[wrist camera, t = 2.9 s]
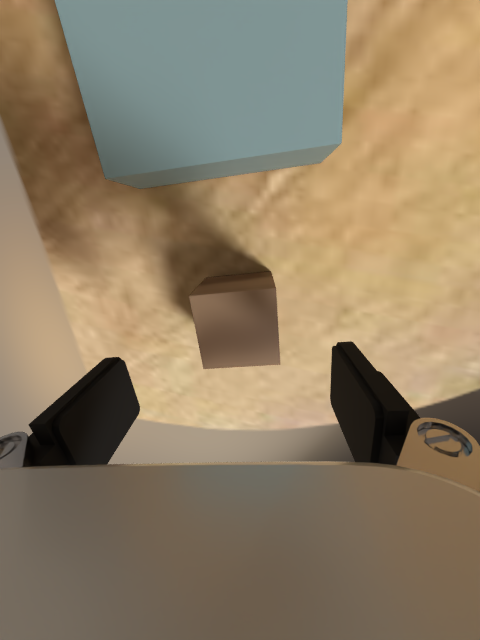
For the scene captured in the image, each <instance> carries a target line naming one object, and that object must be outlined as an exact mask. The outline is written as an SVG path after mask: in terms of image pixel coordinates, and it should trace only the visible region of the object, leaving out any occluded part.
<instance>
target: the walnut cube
mask: <svg viewBox="0 0 480 640" xmlns="http://www.w3.org/2000/svg"><path fill="white" fill-rule="evenodd" d="M189 299H190V304H191V309H192V314H193V319H194V324H195V329H196V334H197V339H198V343H199V348H200V353H201V358H202V363H203V368H204V369H212V368H229V367H246V366H263V365H280V351H279V334H278V316H277V299H276V287H275V283H274V280H273V276H272V273H271V271H268V272H258V273H248V274H238V275H228V276H218V277H208V278H205V279H204V281H203V282H202V283H201V284H200V285H199V286H198V287H197V288H196V289H195V290H194V291H193V292H192V293H191V294H190V296H189Z"/></svg>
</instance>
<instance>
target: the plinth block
mask: <svg viewBox="0 0 480 640" xmlns="http://www.w3.org/2000/svg"><path fill="white" fill-rule="evenodd" d="M55 3H56V7H57V10H58V14H59V17H60V21H61V25H62V28H63V32H64V35H65V39H66V42H67V46H68V49H69V53H70V56H71V60H72V63H73V67H74V70H75V74H76V77H77V81H78V84H79V88H80V92H81V95H82V99H83V102H84V106H85V109H86V113H87V116H88V120H89V123H90V127H91V130H92V134H93V137H94V141H95V144H96V148H97V152H98V155H99V159H100V162H101V166H102V169H103V173H104V176H105V179H108V180H111V181H114V182H118V183H121V184H125V185H128V186H132V187H135V188H139V189H143V188H150V187H157V186H164V185H171V184H178V183H185V182H192V181H199V180H206V179H213V178H220V177H227V176H234V175H241V174H248V173H255V172H262V171H269V170H276V169H283V168H290V167H296V166H303V165H310V164H317V163H321V162H322V161H323V160H324V159H325V158H326V157H327V156H329V155H330V154H331V153H332V152H333V151H334V150H335V149H336V148H337V147H338V146H339V145H340V144H341V143H342V119H343V95H344V70H345V46H346V22H347V0H55Z"/></svg>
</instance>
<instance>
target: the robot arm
mask: <svg viewBox="0 0 480 640" xmlns="http://www.w3.org/2000/svg"><path fill="white" fill-rule="evenodd" d="M330 399H331V405H332V408H333V410H334V412H335V415H336V417H337V420H338V422H339V424H340V427H341V429H342V432H343V434H344V436H345V439H346V441H347V444H348V446H349V448H350V451H351V453H352V455H353V458H354V460H355V462H328V461H327V462H223V463H222V462H218V463H217V462H216V463H215V462H214V463H163V464H162V463H158V464H113V465H112V464H109V465H107V464H108V462H109V460H110V459H111V457H112V455H113V454H114V452H115V451H116V449H117V448H118V446H119V444H120V443H121V441H122V440H123V438H124V436H125V435H126V433H127V432H128V430H129V429H130V427H131V425H132V424H133V422H134V421H135V419H136V417H137V416H138V414H139V411H140V406H139V403H138V400H137V397H136V394H135V391H134V388H133V385H132V382H131V379H130V376H129V373H128V370H127V367H126V364H125V361H124V360H121V358H119V357H112V358H105V359H103V360H102V361H101V362H100V363H99V364H98V365H96V366H95V367H94V368H93V369H92V370H91V371H90V372H88V373H87V374H86V375H85V376H84V377H83V378H82V379H80V380H79V381H78V382H77V383H76V384H75V385H73V386H72V387H71V388H70V389H69V390H68V391H67V392H65V393H64V394H63V395H62V396H61V397H60V398H59V399H57V400H56V401H55V402H54V403H53V404H52V405H51V406H49V407H48V408H47V409H46V410H45V411H44V412H42V413H41V414H40V415H39V416H38V417H37V418H36V419H34V420H33V421H32V422H31V423H30V424H29V426H30V428H31V430H32V432H33V433H32V434H31V435H30V436H29V437H28V435H27V434H26V433H25V432H15V433H11V434H8V435H5V436H2V437H0V640H480V446H479V445H478V443H477V442H476V440H475V439H474V438H473V437H471V436H470V435H469V434H468V433H467V432H466V431H464V430H462V429H461V428H459V427H457V426H456V425H453V424H451V423H449V422H446V421H443V420H439V419H434V418H420V417H419V416H418V415H417V413H416V412H415V411H414V410H413V409H412V407H411V406H410V405H409V404H408V403H407V402H406V400H405V399H404V398H403V397H402V396H401V395H400V393H399V392H398V391H397V390H396V389H395V388H394V386H393V385H392V384H391V383H390V382H389V381H388V379H387V378H386V377H385V376H384V375H383V374H382V373H381V372H379V371H376V369H375V368H374V367H373V366H372V365H371V363H370V362H369V361H368V360H367V358H366V357H365V356H364V355H363V354H362V352H361V351H360V350H359V349H358V348H357V346H356V345H355V344H354V343H353V342H338V343H337V345H336V346H333V347H332V365H331V394H330Z"/></svg>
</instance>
